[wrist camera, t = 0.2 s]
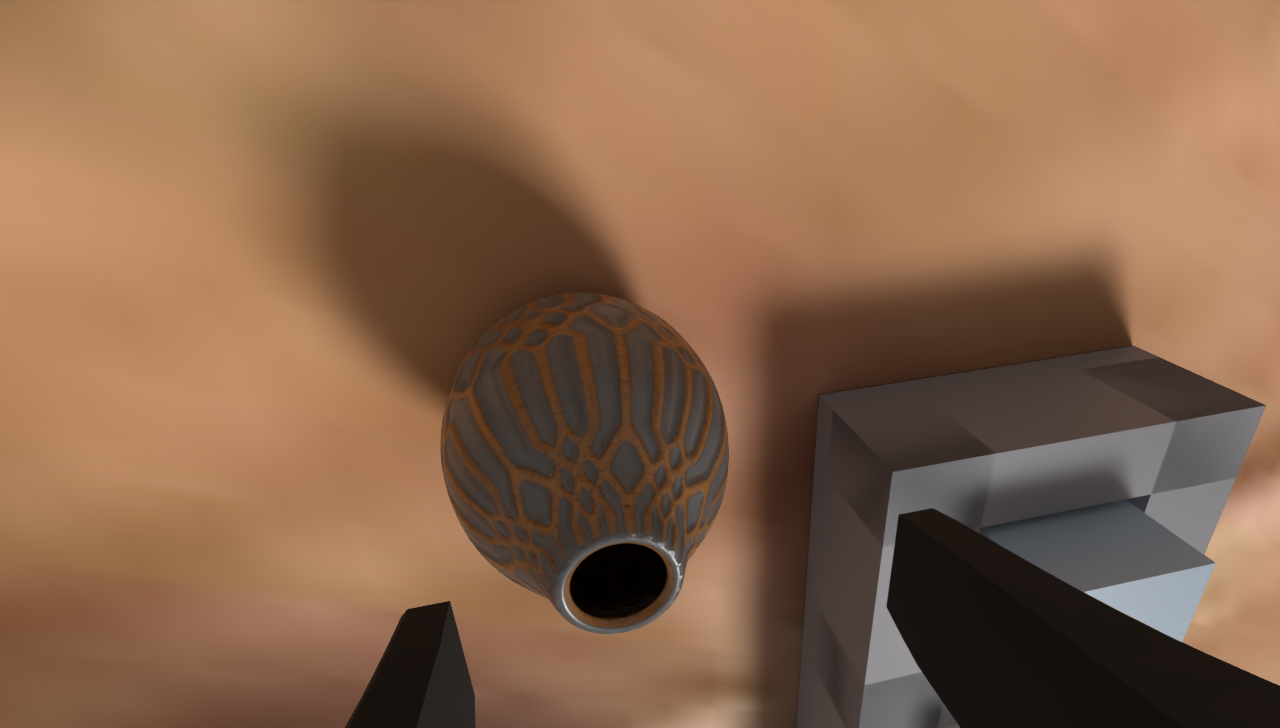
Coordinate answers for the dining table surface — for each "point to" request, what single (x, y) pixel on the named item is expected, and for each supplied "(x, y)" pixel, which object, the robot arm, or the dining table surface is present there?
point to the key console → (991, 493)
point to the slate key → (1115, 560)
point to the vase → (586, 456)
